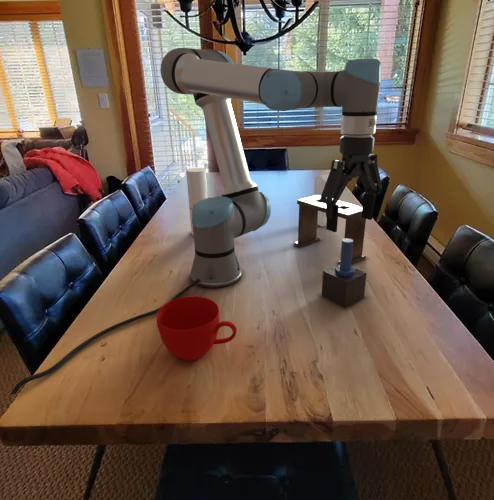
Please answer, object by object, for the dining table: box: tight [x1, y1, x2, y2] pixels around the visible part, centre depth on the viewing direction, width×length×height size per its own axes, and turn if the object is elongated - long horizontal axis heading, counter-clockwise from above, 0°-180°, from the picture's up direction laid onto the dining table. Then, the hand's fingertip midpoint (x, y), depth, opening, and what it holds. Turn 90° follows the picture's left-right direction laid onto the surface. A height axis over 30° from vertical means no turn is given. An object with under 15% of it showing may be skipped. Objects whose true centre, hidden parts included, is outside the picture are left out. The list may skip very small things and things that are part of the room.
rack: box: [293, 195, 367, 266], centre depth 126 cm, size 10×24×17 cm, turn 38°
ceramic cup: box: [155, 295, 238, 362], centre depth 79 cm, size 13×17×10 cm
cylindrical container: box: [185, 167, 209, 237], centre depth 142 cm, size 7×7×25 cm
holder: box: [321, 264, 368, 308], centre depth 100 cm, size 8×8×8 cm
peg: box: [335, 238, 356, 276], centre depth 98 cm, size 5×5×16 cm
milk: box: [313, 169, 331, 228], centre depth 151 cm, size 6×6×22 cm
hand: (349, 224), depth 93 cm, fingers open, 13 cm apart
